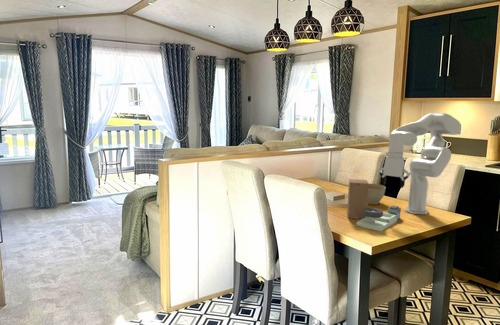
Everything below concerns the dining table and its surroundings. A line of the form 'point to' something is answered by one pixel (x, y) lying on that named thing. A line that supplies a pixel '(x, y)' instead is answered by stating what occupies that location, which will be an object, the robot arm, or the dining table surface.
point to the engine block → (394, 211)
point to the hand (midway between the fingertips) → (392, 186)
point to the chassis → (378, 222)
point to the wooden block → (357, 198)
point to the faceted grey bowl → (370, 213)
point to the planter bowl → (375, 193)
